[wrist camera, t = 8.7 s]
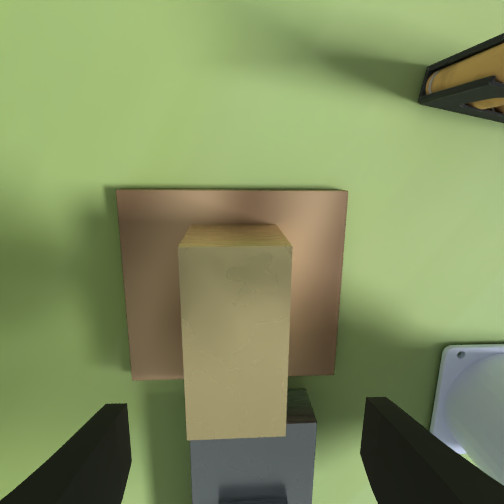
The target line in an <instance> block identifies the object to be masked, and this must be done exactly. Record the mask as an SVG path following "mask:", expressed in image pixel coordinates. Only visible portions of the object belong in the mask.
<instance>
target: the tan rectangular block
mask: <svg viewBox="0 0 504 504" xmlns="http://www.w3.org/2000/svg"><path fill="white" fill-rule="evenodd" d="M292 249H293V246H292V245H291V243H290V242H289V241H288V239H287V238H286V237H285V235H284V234H283V233H282V231H281V230H280V229H279V227H278V226H277V225H276V224H240V225H191V226H190V228H189V229H188V231H187V233H186V234H185V236H184V238H183V239H182V241H181V243H180V244H179V246H178V261H179V283H180V304H181V325H182V346H183V368H184V389H185V410H186V432H187V440H210V439H234V438H258V437H282V436H286V412H287V385H288V358H289V331H290V303H291V276H292Z"/></svg>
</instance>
